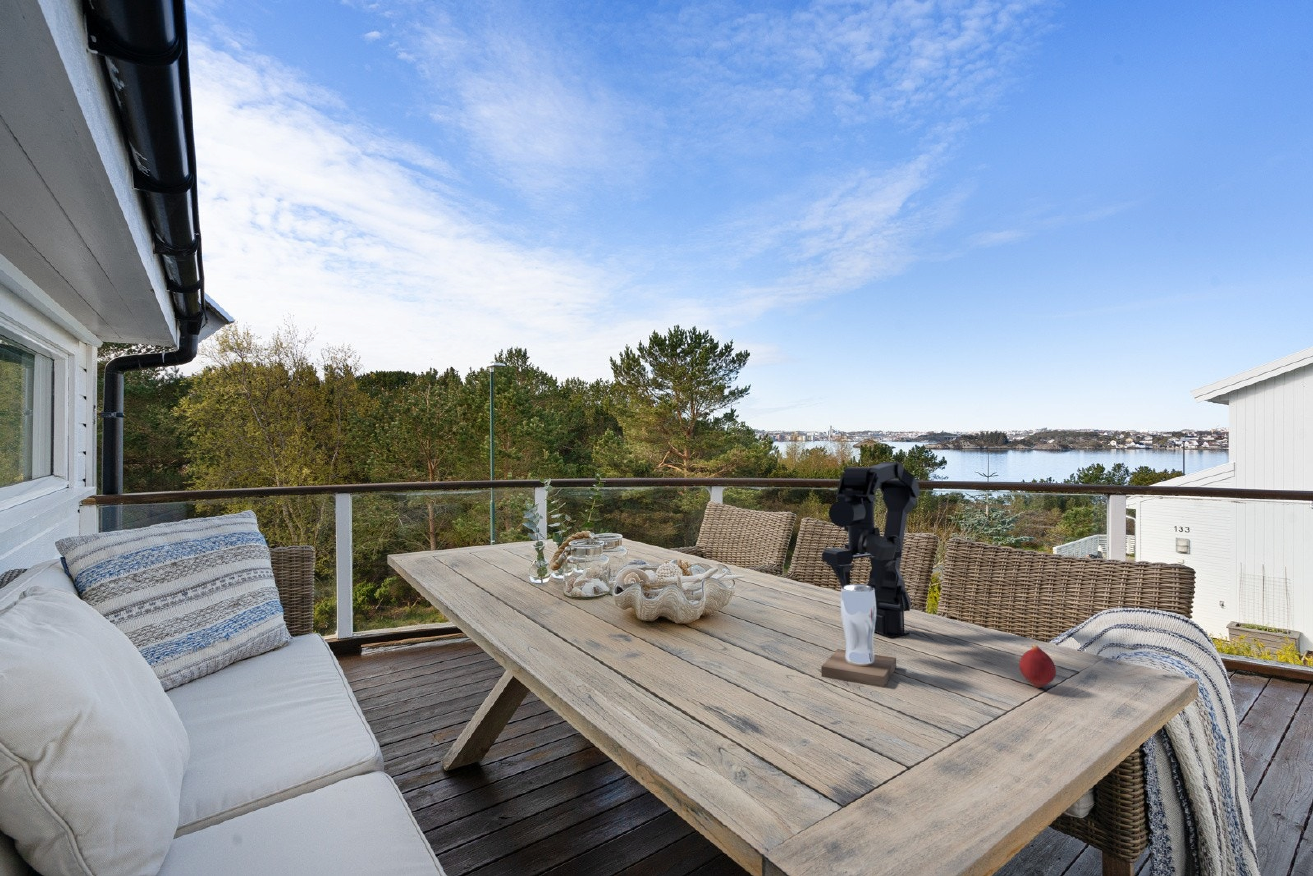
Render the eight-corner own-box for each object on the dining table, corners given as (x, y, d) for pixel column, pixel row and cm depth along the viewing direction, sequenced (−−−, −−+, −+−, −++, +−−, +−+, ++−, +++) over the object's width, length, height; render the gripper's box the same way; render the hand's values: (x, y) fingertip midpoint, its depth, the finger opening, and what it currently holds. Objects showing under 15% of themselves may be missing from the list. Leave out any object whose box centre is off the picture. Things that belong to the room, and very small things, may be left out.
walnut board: (838, 658, 135) (837, 649, 135) (896, 667, 128) (896, 657, 128) (821, 676, 124) (821, 666, 124) (884, 687, 118) (883, 676, 118)
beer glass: (880, 658, 128) (878, 585, 128) (874, 669, 122) (872, 593, 122) (846, 653, 132) (844, 582, 132) (838, 664, 125) (836, 589, 126)
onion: (1051, 683, 118) (1050, 641, 118) (1060, 695, 113) (1058, 651, 113) (1016, 680, 120) (1015, 638, 120) (1023, 691, 115) (1022, 648, 115)
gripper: (855, 529, 129) (857, 604, 129) (919, 523, 137) (921, 593, 137) (819, 524, 139) (821, 593, 139) (881, 518, 147) (883, 584, 147)
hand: (862, 591), depth 140 cm, fingers open, 9 cm apart
